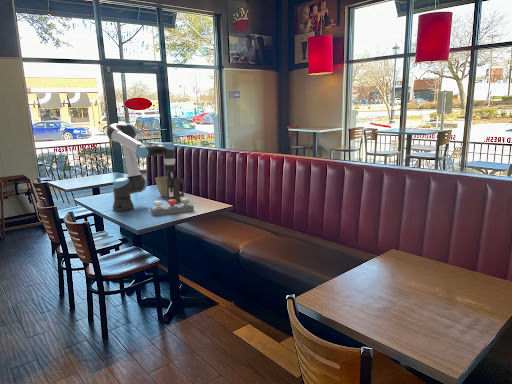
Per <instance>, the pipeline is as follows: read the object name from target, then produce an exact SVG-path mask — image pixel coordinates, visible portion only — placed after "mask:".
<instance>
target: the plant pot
mask: <svg viewBox="0 0 512 384" xmlns="http://www.w3.org/2000/svg"><path fill="white" fill-rule="evenodd" d="M166 178H167V176H158V177H155V183H156V188H157V190H158V193H159V195H160V197H167V181H166Z"/></svg>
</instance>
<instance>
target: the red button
mask: <svg viewBox="0 0 512 384" xmlns="http://www.w3.org/2000/svg"><path fill="white" fill-rule="evenodd" d="M167 204H169V205H170V206H174V205H175V204H177V202H176V200H175V199H170V200H168V201H167Z"/></svg>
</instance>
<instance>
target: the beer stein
mask: <svg viewBox="0 0 512 384" xmlns="http://www.w3.org/2000/svg"><path fill="white" fill-rule="evenodd" d="M166 181H167V196H166V202H168V200H170V199H175V200H176V203H177V202H181V197H182V198H185V194H184V193H185V190H186V184H185V179H184V178H182V179H179V177H178V176H174V187H173V197H169V188H168V187H169V186H168V180H167V178H166ZM180 183H181V184H182V189H181V193H180V185H179V184H180Z"/></svg>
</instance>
